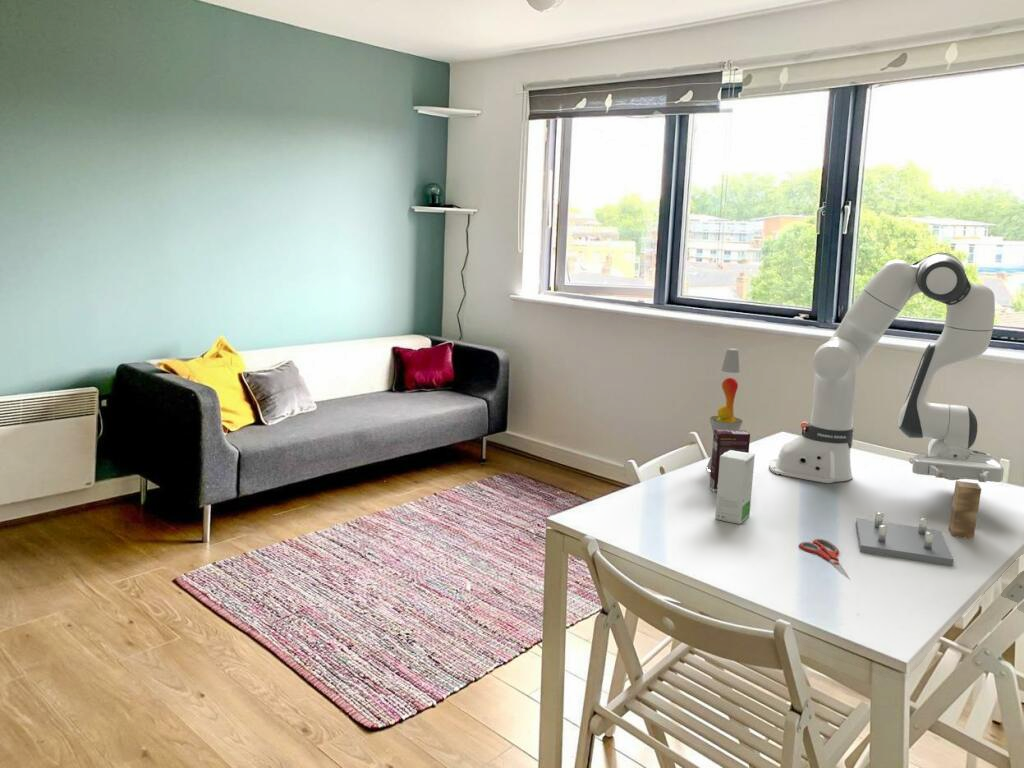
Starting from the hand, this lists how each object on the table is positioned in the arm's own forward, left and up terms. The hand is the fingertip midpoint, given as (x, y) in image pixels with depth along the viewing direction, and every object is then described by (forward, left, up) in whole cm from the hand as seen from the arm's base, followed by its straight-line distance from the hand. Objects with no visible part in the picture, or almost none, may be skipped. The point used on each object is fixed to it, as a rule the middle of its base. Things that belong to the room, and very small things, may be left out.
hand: (961, 476), depth 200 cm
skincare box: (-52, -24, -11) cm, 58 cm away
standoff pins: (-15, -25, -9) cm, 30 cm away
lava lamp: (-58, +14, -11) cm, 60 cm away
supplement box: (-55, -3, -11) cm, 56 cm away
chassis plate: (-15, -25, -11) cm, 31 cm away
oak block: (-1, -12, -11) cm, 16 cm away
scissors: (-29, -42, -11) cm, 52 cm away
